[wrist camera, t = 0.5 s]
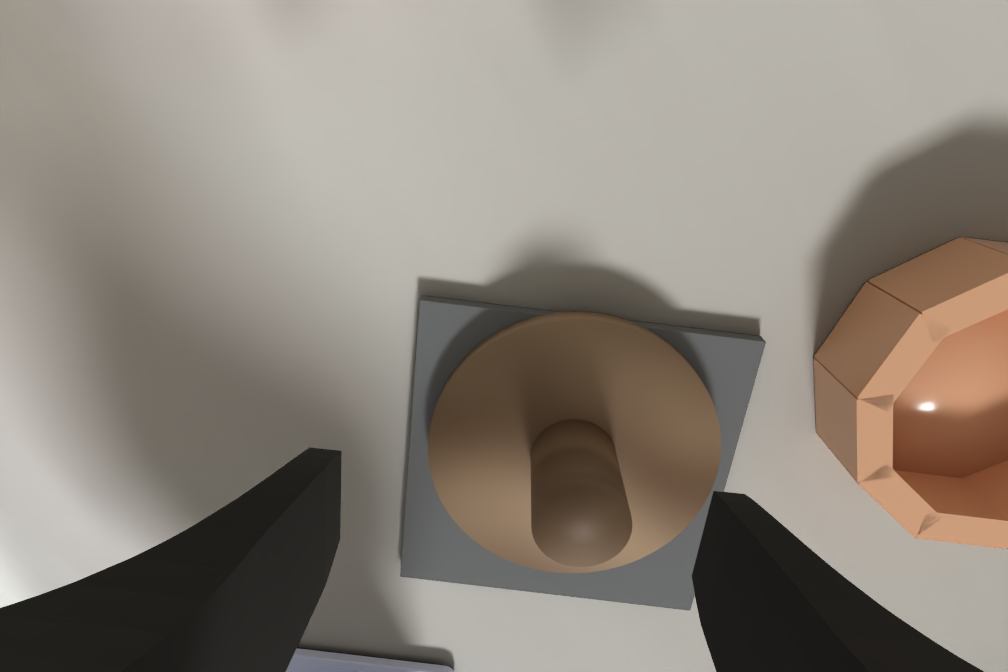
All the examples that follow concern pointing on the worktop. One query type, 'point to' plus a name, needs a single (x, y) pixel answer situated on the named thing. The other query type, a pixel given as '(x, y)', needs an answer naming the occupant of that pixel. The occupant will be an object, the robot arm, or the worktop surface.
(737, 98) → the worktop surface
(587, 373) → the lid
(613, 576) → the mat
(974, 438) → the bowl
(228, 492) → the worktop surface
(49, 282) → the worktop surface
